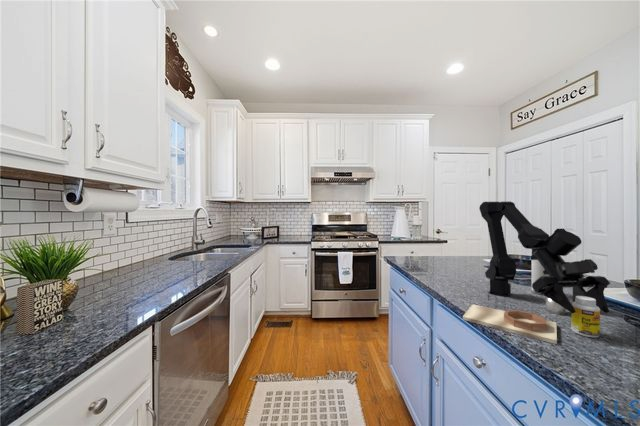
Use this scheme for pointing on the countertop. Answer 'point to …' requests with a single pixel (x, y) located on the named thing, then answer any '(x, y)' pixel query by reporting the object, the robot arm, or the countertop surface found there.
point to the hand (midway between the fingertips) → (590, 312)
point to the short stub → (554, 307)
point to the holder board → (500, 324)
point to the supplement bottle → (586, 317)
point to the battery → (578, 290)
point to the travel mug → (536, 271)
